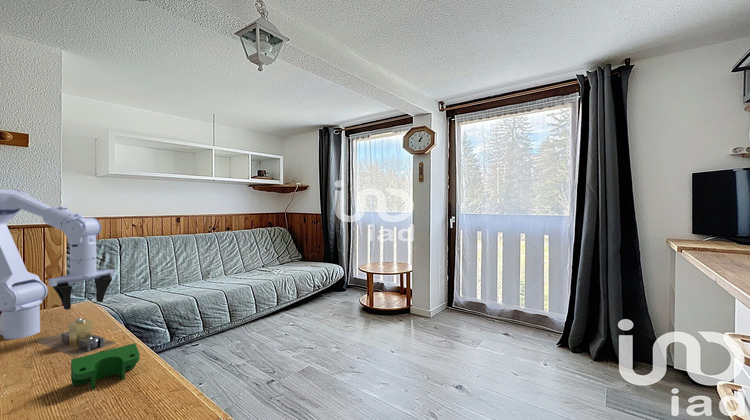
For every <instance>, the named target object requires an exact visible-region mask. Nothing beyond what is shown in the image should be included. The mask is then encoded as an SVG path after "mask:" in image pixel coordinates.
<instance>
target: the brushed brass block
mask: <svg viewBox="0 0 750 420" xmlns="http://www.w3.org/2000/svg"><path fill="white" fill-rule="evenodd" d="M93 329H94V328H93V320H90V319H87V318H83V319H82V318H76V319H75V321H74V320H73V321H70V322H68V331H69V345H71V346H73V347H76V348H77V347H78V339H81V338H82V339H83V338H85V337H88V336H91V335H94V334H93Z"/></svg>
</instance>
